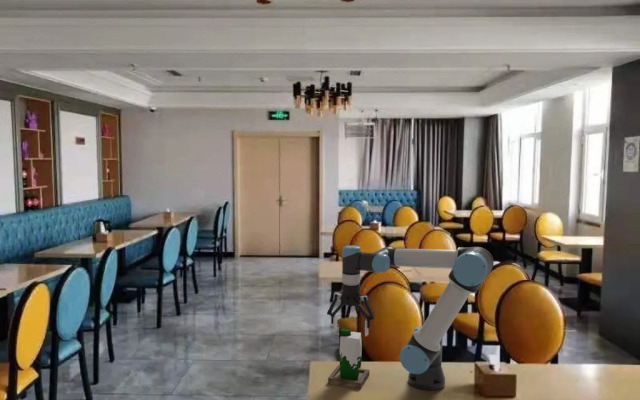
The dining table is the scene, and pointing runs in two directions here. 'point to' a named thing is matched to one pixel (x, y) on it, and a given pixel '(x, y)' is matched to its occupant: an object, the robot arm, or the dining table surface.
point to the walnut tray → (336, 379)
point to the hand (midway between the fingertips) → (350, 333)
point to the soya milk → (350, 354)
